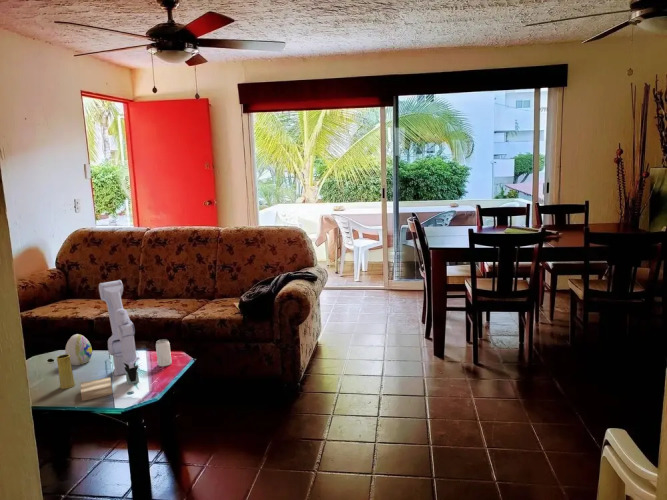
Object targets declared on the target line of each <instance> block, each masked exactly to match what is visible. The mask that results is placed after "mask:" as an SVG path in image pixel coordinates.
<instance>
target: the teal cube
mask: <svg viewBox="0 0 667 500" xmlns="http://www.w3.org/2000/svg"><path fill="white" fill-rule="evenodd" d="M125 372H126V371H125ZM125 380H126V384H127V385H132V384H136V383H140V378H139V371H138V369H137V372H136V381H133V382H131V381H130V379H129V375H128V373H127V372H126V374H125Z"/></svg>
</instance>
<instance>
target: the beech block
mask: <svg viewBox="0 0 667 500" xmlns="http://www.w3.org/2000/svg"><path fill="white" fill-rule="evenodd" d="M113 394H114V393H113V387H112V380H111V377H110V376H109V377H105V378H100V379H95V380H90V381H84V382H80V395H81V401H83V402H84V401H88V400H92V399H97V398H101V397H105V396H106V397H107V396H110V395H113Z"/></svg>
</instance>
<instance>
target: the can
mask: <svg viewBox="0 0 667 500" xmlns="http://www.w3.org/2000/svg"><path fill="white" fill-rule="evenodd" d="M155 342H156V343H155V351H156V359H157V365H158V367H160V368H163V367H168V366H170V365H172V364H173V363H172V355H171V345H170V344H171V343H170V342H169V340H168V339H167V338H165V339H164V338H163V339H159V340H157V341H155Z"/></svg>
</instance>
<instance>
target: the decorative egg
mask: <svg viewBox="0 0 667 500" xmlns="http://www.w3.org/2000/svg"><path fill="white" fill-rule="evenodd" d="M64 353H65V354H69V355H70V361H71V366H81V365H80V364H82V365H85V364H86V363H89V362H90V360H91V358H92V356H93V349H92V345H91V343H90V341H89V340H88V338H86V337H85V336H84V335H82V334H79V333H76V334H73V335H72V336H70V338H69V339H68V340H67V343H66V344H65V349H64ZM84 363H85V364H84Z"/></svg>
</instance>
